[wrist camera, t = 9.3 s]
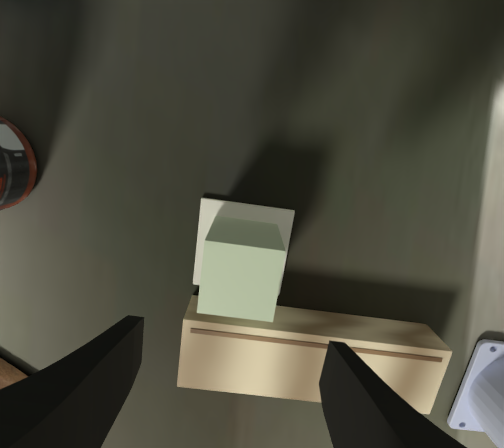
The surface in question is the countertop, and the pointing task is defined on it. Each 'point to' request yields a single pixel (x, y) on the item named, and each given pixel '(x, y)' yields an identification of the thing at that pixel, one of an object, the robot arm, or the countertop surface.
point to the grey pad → (239, 211)
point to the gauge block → (241, 269)
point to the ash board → (307, 353)
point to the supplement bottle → (15, 165)
